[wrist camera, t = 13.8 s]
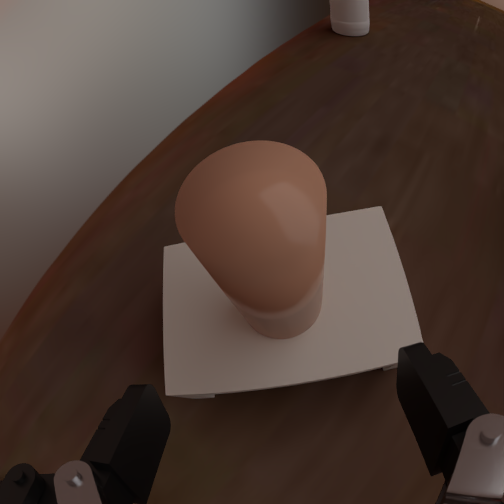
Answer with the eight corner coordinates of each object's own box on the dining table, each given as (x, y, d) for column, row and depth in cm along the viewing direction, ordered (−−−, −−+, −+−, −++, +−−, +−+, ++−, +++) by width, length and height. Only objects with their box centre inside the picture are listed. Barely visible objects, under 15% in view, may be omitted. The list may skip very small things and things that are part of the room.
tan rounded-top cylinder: (245, 344, 21) (172, 278, 10) (238, 269, 23) (178, 157, 13) (328, 331, 20) (343, 250, 10) (314, 256, 23) (308, 130, 12)
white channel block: (195, 398, 25) (165, 395, 20) (189, 275, 31) (164, 246, 26) (402, 365, 23) (425, 354, 18) (371, 242, 29) (381, 206, 24)
